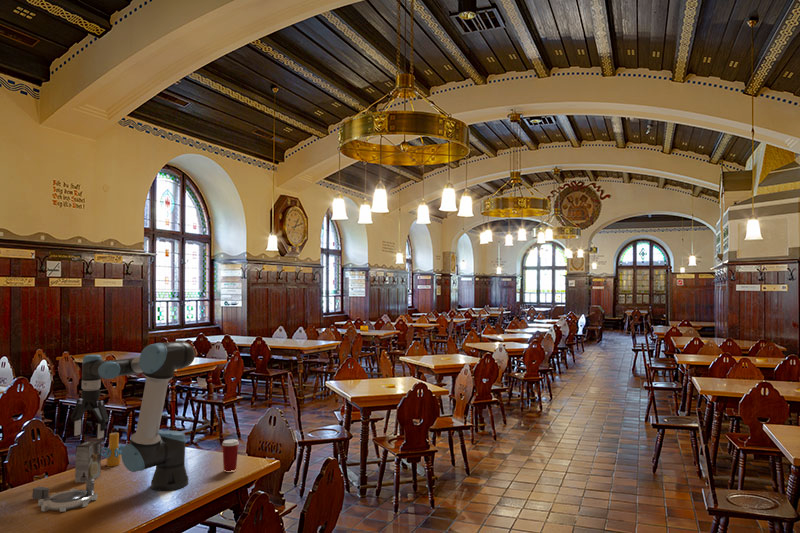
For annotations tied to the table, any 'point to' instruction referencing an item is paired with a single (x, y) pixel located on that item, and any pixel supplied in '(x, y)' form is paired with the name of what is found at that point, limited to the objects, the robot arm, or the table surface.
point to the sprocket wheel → (69, 498)
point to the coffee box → (88, 461)
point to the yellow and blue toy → (113, 450)
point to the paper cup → (230, 454)
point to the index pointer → (40, 493)
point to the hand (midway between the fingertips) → (88, 436)
